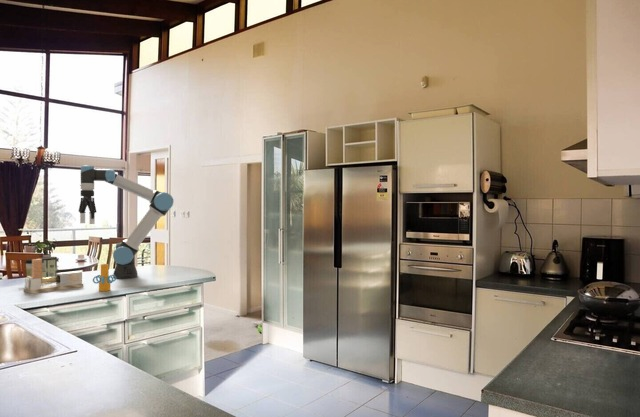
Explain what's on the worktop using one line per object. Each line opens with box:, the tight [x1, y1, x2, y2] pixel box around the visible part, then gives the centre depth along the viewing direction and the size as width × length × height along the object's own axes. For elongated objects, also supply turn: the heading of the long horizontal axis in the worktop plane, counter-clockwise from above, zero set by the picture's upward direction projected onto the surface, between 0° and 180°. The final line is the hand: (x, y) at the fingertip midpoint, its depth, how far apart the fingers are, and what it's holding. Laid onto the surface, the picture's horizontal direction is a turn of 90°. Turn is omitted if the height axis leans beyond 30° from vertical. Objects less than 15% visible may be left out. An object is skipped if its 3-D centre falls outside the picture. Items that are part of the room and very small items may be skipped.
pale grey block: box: [55, 270, 83, 287], centre depth 260 cm, size 12×6×7 cm, turn 140°
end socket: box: [24, 275, 42, 291], centre depth 246 cm, size 6×6×7 cm
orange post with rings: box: [92, 263, 117, 292], centre depth 252 cm, size 12×10×15 cm
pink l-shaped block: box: [31, 258, 60, 285], centre depth 251 cm, size 16×3×14 cm, turn 140°
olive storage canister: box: [24, 258, 44, 277], centre depth 269 cm, size 10×10×15 cm
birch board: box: [23, 283, 84, 295], centre depth 254 cm, size 28×9×2 cm, turn 140°
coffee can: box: [37, 256, 58, 278], centre depth 286 cm, size 10×10×14 cm
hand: (87, 223), depth 278 cm, fingers open, 13 cm apart
